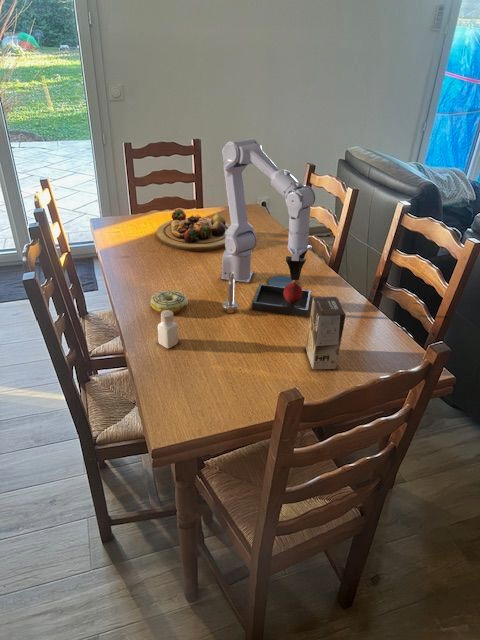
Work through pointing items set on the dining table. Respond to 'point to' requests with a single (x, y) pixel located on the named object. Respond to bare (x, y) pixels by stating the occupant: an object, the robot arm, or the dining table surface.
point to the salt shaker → (167, 330)
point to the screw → (230, 296)
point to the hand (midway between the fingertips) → (296, 274)
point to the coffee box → (325, 332)
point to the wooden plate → (193, 232)
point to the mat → (280, 281)
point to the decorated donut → (168, 301)
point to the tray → (280, 301)
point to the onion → (292, 292)
